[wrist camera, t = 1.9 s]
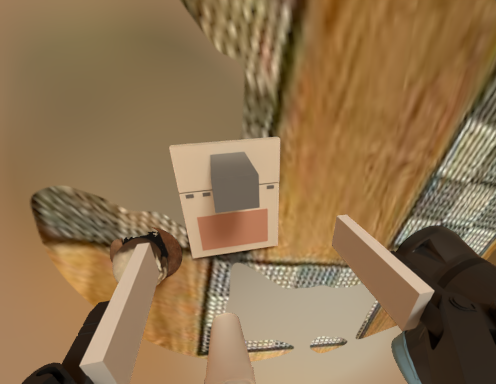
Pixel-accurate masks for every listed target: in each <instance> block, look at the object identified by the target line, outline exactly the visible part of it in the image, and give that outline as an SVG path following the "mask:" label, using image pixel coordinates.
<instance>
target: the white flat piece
mask: <svg viewBox="0 0 496 384" xmlns="http://www.w3.org/2000/svg"><path fill="white" fill-rule="evenodd" d="M179 195H180V200H181V205H182V209H183V214H184V219H185V223H186V228H187V233H188V238H189V242H190V247H191V252H192V256H193V258H199V257H205V256H212V255H218V254H225V253H231V252H238V251H244V250H251V249H257V248H264V247H270V246H277V245H278V209H279V183H278V182H272V183H264V184H259V203H260V208H253V209H245V210H237V211H229V212H221V213H215V207H214V199H213V192H212V189H210V190H201V191H192V192H183V193H180V194H179Z"/></svg>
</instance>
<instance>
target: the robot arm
mask: <svg viewBox="0 0 496 384" xmlns="http://www.w3.org/2000/svg"><path fill="white" fill-rule="evenodd" d="M332 246H333V247H334V249H335V250H336V251H337V252H338V253H339V255H340V256H341V257H342V258H343V260H344V261H345V262H346V263H347V264H348V266H349V267H350V268H351V269H352V270H353V272H354V273H355V274H356V275H357V277H358V278H359V279H360V280H361V281H362V283H363V284H364V285H365V286H366V287H367V289H368V290H369V291H370V292H371V294H372V295H373V296H374V297H375V298H376V300H377V301H378V302H379V303H380V304H381V306H382V307H383V308H384V309H385V311H386V312H387V313H388V314H389V315H390V317H391V318H392V319H393V320H394V322H395V323H396V324H397V325H398V326H399V328H400V329H401V330H402V333H401V334H400V335H398V336H397V337H396V338H394V340H393V341H392V346H391V348H392V353H393V356H394V359H395V361H396V363H397V365H398V367H399V369H400V371H401V373H402V374H403V376H404V378H405V380H406V381H407V383H408V384H496V266H495V265H493V264H491V263H490V262H488V261H486V260H485V259H483V258H481V257H480V256H478V255H477V254H476V253H475V252H474V251H473V250H472V249H471V248H470V247H469V246H468V245H467V244H466V243H465V242H464V241H463V240H462V239H461V238H460V236H459V235H458V234H456V233H455V232H453V231H452V230H450V229H448V228H446V227H444V226H438V225H437V226H430V227H427V228H424V229H422V230H420V231H418V232H416V233H414V234H413V235H412V236H410V237H409V238H408V239H407V240H406V241H405V242H404V243H403V244H402V245H401V246H400V248H399V249H398V251H397V252H395V251H388V250H387V249H386V248H384V247H383V246H382V245H381V244H380V243H379V242H378V241H376V240H375V239H374V238H373V237H372V236H371V235H369V234H368V233H367V232H366V231H365V230H364V229H363V228H361V227H360V226H359V225H358V224H357V223H356V222H354V221H353V220H352V219H351V218H350V217H349V216H347V215H340V216H337V218H336V224H335V230H334V236H333V242H332ZM159 274H160V273H159V270H158V267H157V264H156V261H155V258H154V255H153V252H152V248H151V245H150V243H143V244H137V246H136V248H135V250H134V252H133V254H132V256H131V258H130V260H129V262H128V265H127V267H126V269H125V271H124V273H123V275H122V277H121V279H120V281H119V283H118V286H117V288H116V290H115V292H114V294H113V296H112V298H111V300H110V301H106V302H100V303H98V304H97V305H96V306H95V308H94V309H93V310H92V311H91V312H90V313H89V315H88V317H87V318H86V320H85V322H84V324H83V327H82V328H81V329H80V331H79V333H78V336H77V337H76V339H75V341H74V342H73V344H72V346H71V348H70V350H69V352H68V353H67V355H66V357H65V359H64V361H63V363H62V364H60V363H51V364H47V365H44V366H43V367H41V368H39V369H38V370H36V371H35V372H33V373H32V374H31V375H30V376H29V377H27V378H26V379H25V380H24V382H23V383H22V384H129V383H130V380H131V376H132V372H133V368H134V365H135V361H136V358H137V354H138V351H139V347H140V343H141V339H142V336H143V332H144V329H145V325H146V321H147V318H148V314H149V310H150V307H151V303H152V299H153V296H154V292H155V288H156V285H157V281H158V277H159Z"/></svg>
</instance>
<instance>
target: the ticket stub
mask: <svg viewBox="0 0 496 384" xmlns="http://www.w3.org/2000/svg"><path fill="white" fill-rule="evenodd" d="M169 149H170V154H171V159H172V163H173V168H174V173H175V177H176V182H177V187H178V191H179V193H183V192H192V191H201V190H210V189H212V192H213V199H214V207H215V213H221V212H229V211H237V210H245V209H253V208H260V203H259V184H264V183H272V182H279V168H280V138H278V137H267V138H255V139H243V140H231V141H220V142H207V143H195V144H182V145H171V146H170V147H169Z"/></svg>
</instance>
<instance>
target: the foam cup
mask: <svg viewBox="0 0 496 384" xmlns="http://www.w3.org/2000/svg"><path fill="white" fill-rule="evenodd" d="M204 384H256V383H255V377H254V371H253V367H252V366H251V362H250V359H249V355H248V351H247V347H246V344H245V340H244V336H243V333H242V329H241V325H240V322H239V319H238V316H237V315H235V314H233V313H223V314H221V315H218V316H217V317H216V318H214V320H213V322H212V328H211V336H210V345H209V354H208V362H207V371H206V378H205V380H204Z"/></svg>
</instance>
